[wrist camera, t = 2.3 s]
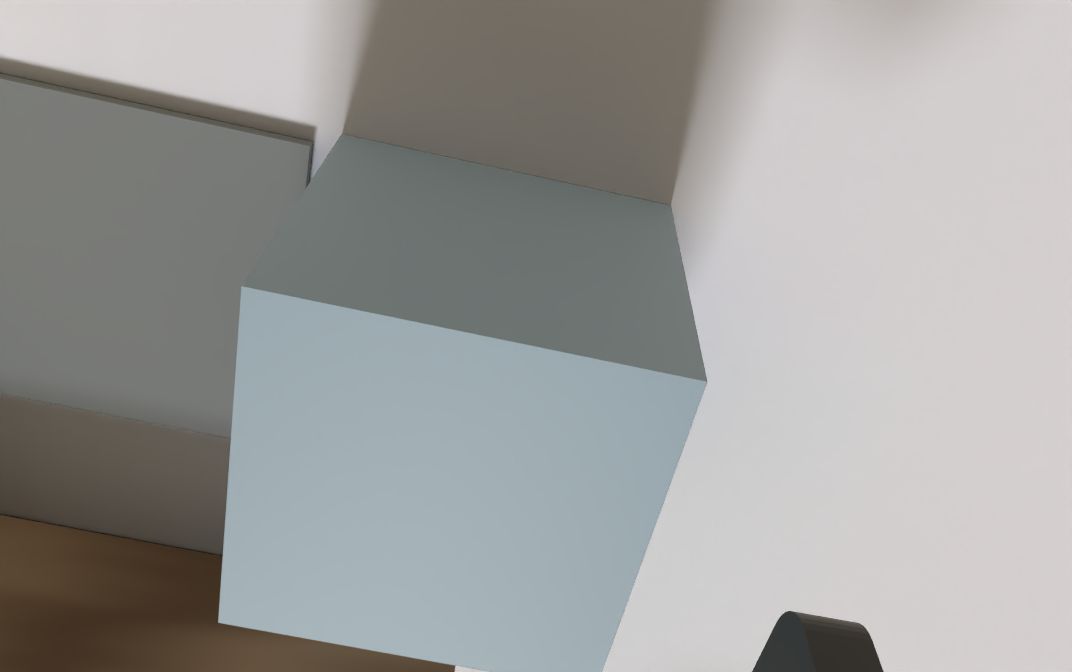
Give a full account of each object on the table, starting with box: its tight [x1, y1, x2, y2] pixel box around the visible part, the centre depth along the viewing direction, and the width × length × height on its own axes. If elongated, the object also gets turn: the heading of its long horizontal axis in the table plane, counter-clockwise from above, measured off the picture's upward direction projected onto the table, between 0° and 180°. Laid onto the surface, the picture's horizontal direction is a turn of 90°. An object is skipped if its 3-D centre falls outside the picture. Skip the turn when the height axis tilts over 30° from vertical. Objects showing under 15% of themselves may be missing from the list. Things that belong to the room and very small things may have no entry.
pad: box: [0, 73, 313, 439], centre depth 15 cm, size 6×6×1 cm
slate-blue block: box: [218, 134, 707, 672], centre depth 14 cm, size 5×5×5 cm
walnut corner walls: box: [0, 515, 455, 672], centre depth 16 cm, size 12×7×4 cm, turn 78°
